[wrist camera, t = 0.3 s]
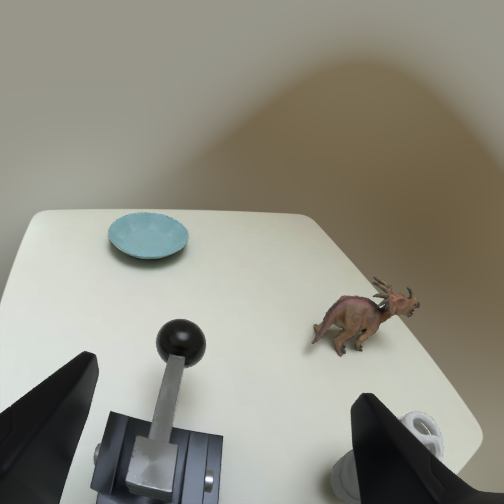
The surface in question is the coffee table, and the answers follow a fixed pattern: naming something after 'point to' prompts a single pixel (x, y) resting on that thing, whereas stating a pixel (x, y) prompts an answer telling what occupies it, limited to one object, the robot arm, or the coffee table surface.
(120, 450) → the bracket
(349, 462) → the light bulb
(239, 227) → the coffee table surface
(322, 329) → the dinosaur figurine
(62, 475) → the robot arm
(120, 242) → the saucer
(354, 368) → the coffee table surface
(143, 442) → the lever
